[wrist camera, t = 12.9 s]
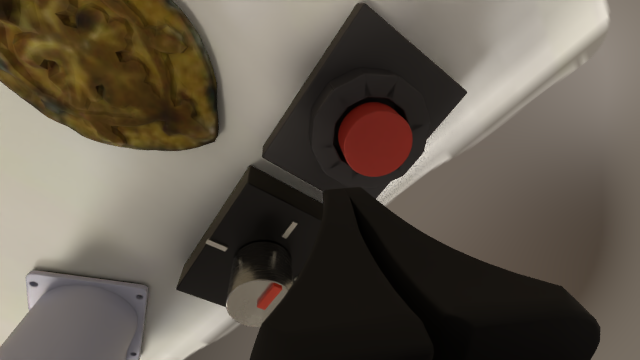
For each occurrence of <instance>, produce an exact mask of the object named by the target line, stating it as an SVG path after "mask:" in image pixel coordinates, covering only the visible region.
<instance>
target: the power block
mask: <svg viewBox="0 0 640 360" xmlns="http://www.w3.org/2000/svg"><path fill="white" fill-rule="evenodd" d="M466 94H467V91H466V90H465V89H464V88H462V87H461V86H460V85H459V84H458V83H457V82H455V81H454V80H453V79H452V78H451V77H450V76H449V75H447V74H446V73H445V72H444V71H443V70H442V69H440V68H439V67H438V66H437V65H436V64H435V63H434V62H432V61H431V60H430V59H429V58H428V57H427V56H425V55H424V54H423V53H422V52H421V51H420V50H418V49H417V48H416V47H415V46H414V45H413V44H412V43H410V42H409V41H408V40H407V39H406V38H405V37H403V36H402V35H401V34H400V33H399V32H398V31H397V30H395V29H394V28H393V27H392V26H391V25H390V24H388V23H387V22H386V21H385V20H384V19H383V18H382V17H380V16H379V15H378V14H377V13H376V12H375V11H373V10H372V9H371V8H370V7H369V6H368V5H367V4H365V3H358V4H356V6H355V7H354V9H353V10H352V12H351V13H350V15H349V17H348V18H347V20H346V21H345V23H344V24H343V26H342V27H341V29H340V30H339V32H338V33H337V35H336V36H335V38H334V39H333V41H332V42H331V44H330V45H329V47H328V48H327V50H326V51H325V53H324V55H323V56H322V58H321V59H320V61H319V62H318V64H317V65H316V67H315V68H314V70H313V71H312V73H311V74H310V76H309V77H308V79H307V80H306V82H305V83H304V85H303V86H302V88H301V89H300V91H299V92H298V94H297V96H296V97H295V99H294V100H293V102H292V103H291V105H290V106H289V108H288V109H287V111H286V112H285V114H284V115H283V117H282V118H281V120H280V121H279V123H278V124H277V126H276V127H275V129H274V130H273V132H272V134H271V135H270V137H269V138H268V140H267V141H266V143H265V144H264V146H263V153H262V157H263V158H264V159H266V160H268V161H270V162H272V163H273V164H275V165H277V166H279V167H281V168H282V169H284V170H286V171H288V172H290V173H291V174H293V175H295V176H297V177H299V178H300V179H302V180H304V181H306V182H307V183H309V184H311V185H313V186H315V187H316V188H318V189H320V190H322V191H325V190H329V189H341V188H353V187H361V188H363V189H364V190H365V191H366V192H368V193H369V194H370V195H371V196H373V197H374V198H375V199H376V198H377V197H378V195H379V194H380V193H381V192H382V191H383V190H384V189H385V187H386V186H387V185H388V184H389V183H390V182H391V181H393V180H395V179H397V178H399V177H401V176H403V175H404V174H405V173H406V172H407V171H408V170H409V168H410V167H411V166H412V165H413V164H414V163H415V162H416V160H417V159H418V158H419V157H420V156H421V155H422V153H423V151H424V148H425V144H426V140H427V139H428V138H429V136H430V135H431V134H432V133H433V132H434V131H435V129H436V128H437V127H438V126H439V125H440V124H441V122H442V121H443V120H444V119H445V118H446V117H447V116H448V114H449V113H450V112H451V111H452V110H453V109H454V107H455V106H456V105H457V104H458V103H459V102H460V100H461V99H462V98H463V97H464V96H465V95H466ZM368 102H379V103H383V104H386V105H388V106H390V107H391V108H393V109H394V110H395V111H396V112H397V113H398V114H399V115H400V116H401V117H403V118H404V119H405V120H406V122H407V123H408V124H409V126H410V128H411V131H412V137H413V142H412V148H411V151H410V153H409V156H408V157H407V159H406V160H405V162H404V163H403V164H402V165H401V166H400V167H399V168H397V169H396V170H395V171H393V172H391V173H389V174H386V175H383V176H378V177H370V176H364V175H362V174H359V173H357V172H356V171H354V170H353V169H352V168H351V167H350V166H349V165H348V163H347V161H346V159H345V157H344V155H343V152H342V150H341V148H340V145H339V141H338V132H339V128H340V125H341V123H342V121H343V119H344V118H345V116H346V115H347V114H348V113H349V112H350V111H351V110H352V109H354V108H355V107H357V106H359V105H361V104H364V103H368Z"/></svg>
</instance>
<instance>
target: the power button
mask: <svg viewBox="0 0 640 360" xmlns="http://www.w3.org/2000/svg"><path fill="white" fill-rule="evenodd" d="M338 141H339V145H340V148H341V150H342V152H343V155H344V157H345V159H346V161H347V163H348V165H349V166H350V167H351V168H352V169H353V170H354V171H356V172H357V173H359V174H362V175H364V176H370V177H378V176H383V175H386V174H389V173H391V172H393V171H395V170H396V169H397V168H399V167H400V166H401V165H402V164H403V163H404V162H405V160H406V159H407V157H408V156H409V153H410V151H411V148H412V142H413V137H412V131H411V128H410V126H409V124H408V123H407V122H406V120H405V119H404V118H403V117H401V116H400V115H399V114H398V113H397V112H396V111H395V110H394V109H393V108H391V107H390V106H388V105H386V104H383V103H379V102H368V103H364V104H361V105H359V106H357V107H355V108H354V109H352V110H351V111H350V112H349V113H348V114H347V115H346V116H345V118H344V119H343V121H342V123H341V125H340V128H339V132H338Z"/></svg>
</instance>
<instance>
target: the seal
mask: <svg viewBox="0 0 640 360" xmlns="http://www.w3.org/2000/svg"><path fill="white" fill-rule="evenodd" d="M0 81H1V82H2V83H3V84H4V85H6V86H7V87H8V88H9V89H11V90H12V91H13V92H15V93H16V94H17V95H19V96H20V97H21V98H22V99H24V100H25V101H27V102H28V103H29V104H31V105H32V106H33V107H35V108H36V109H37V110H39V111H40V112H41V113H43V114H44V115H45V116H47V117H49V118H50V119H52V120H54V121H56V122H59V123H61V124H63V125H66V126H68V127H70V128H71V129H73V130H74V131H76V132H77V133H79V134H80V135H82V136H84V137H86V138H89V139H91V140H94V141H97V142H101V143H105V144H109V145H114V146H118V147H125V148H132V149H139V150H161V151H181V150H187V149H192V148H196V147H200V146H203V145H206V144H209V143H212V142H215V140H216V138H217V136H218V130H219V124H218V112H217V82H216V78H215V75H214V71H213V67H212V64H211V62H210V59H209V56H208V54H207V52H206V50H205V48H204V46H203V44H202V41H201V39H200V37H199V35H198V33H197V32H196V30H195V28H194V27H193V25H192V24H191V22H190V21H189V20H188V18H187V17H186V16H185V14H184V13H183V12H182V11H181V10H180V8H179V7H178V6H177V5H176V4H175V3H174V2H173V1H172V0H0Z"/></svg>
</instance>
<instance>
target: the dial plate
mask: <svg viewBox="0 0 640 360" xmlns="http://www.w3.org/2000/svg"><path fill="white" fill-rule="evenodd" d="M323 212H324V211H323V204H322V203H320V202H318V201H316V200H314V199H312V198H311V197H309V196H307V195H305V194H303V193H301V192H300V191H298V190H296V189H294V188H292V187H290V186H288V185H287V184H285V183H283V182H281V181H279V180H277V179H275V178H274V177H272V176H270V175H268V174H266V173H264V172H262V171H261V170H259V169H257V168H255V167H253V166H251V165H250V166H249V167H248V169H247V171H246V172H245V174H244V175H243V177H242V178H241V180H240V181H239V183H238V184H237V186H236V187H235V189H234V190H233V192H232V193H231V195H230V196H229V198H228V199H227V201H226V202H225V204H224V205H223V207H222V209H221V210H220V212H219V213H218V215H217V216H216V218H215V219H214V221H213V222H212V224H211V225H210V227H209V228H208V230H207V231H206V233H205V234H204V236H203V237H202V239H201V240H200V242H199V244H198V245H197V247H196V248H195V250H194V251H193V253H192V254H191V256H190V257H189V259H188V260H187V262H186V263H185V265H184V268H183V271H182V273H181V276H180V279H179V282H178V285H177V288H176V289H177V290H179V291H182V292H184V293H187V294H190V295H193V296H196V297H199V298H202V299H204V300H207V301H210V302H213V303H216V304H219V305H222V306H224V307H226V299H227V293H228V288H229V282H230V276H231V270H232V264H233V259H234V257H235V255H236V253H237V252H238V251H239V250H240V249H241V248H243V247H244V246H246V245H248V244H251V243H254V242H261V241H266V242H272V243H275V244H278V245H280V246H282V247H283V248H284V249H285V250H286V251H287V252H288V253H289V255H290V257H291V260H292V272H293V283H294V282H295V280H296V279H297V277H298V275H299V274H300V272H301V270H302V268H303V266H304V265H305V263H306V261H307V259H308V257H309V255H310V253H311V250H312V248H313V246H314V243H315V241H316V238H317V235H318V232H319V229H320V226H321V222H322V217H323Z"/></svg>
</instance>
